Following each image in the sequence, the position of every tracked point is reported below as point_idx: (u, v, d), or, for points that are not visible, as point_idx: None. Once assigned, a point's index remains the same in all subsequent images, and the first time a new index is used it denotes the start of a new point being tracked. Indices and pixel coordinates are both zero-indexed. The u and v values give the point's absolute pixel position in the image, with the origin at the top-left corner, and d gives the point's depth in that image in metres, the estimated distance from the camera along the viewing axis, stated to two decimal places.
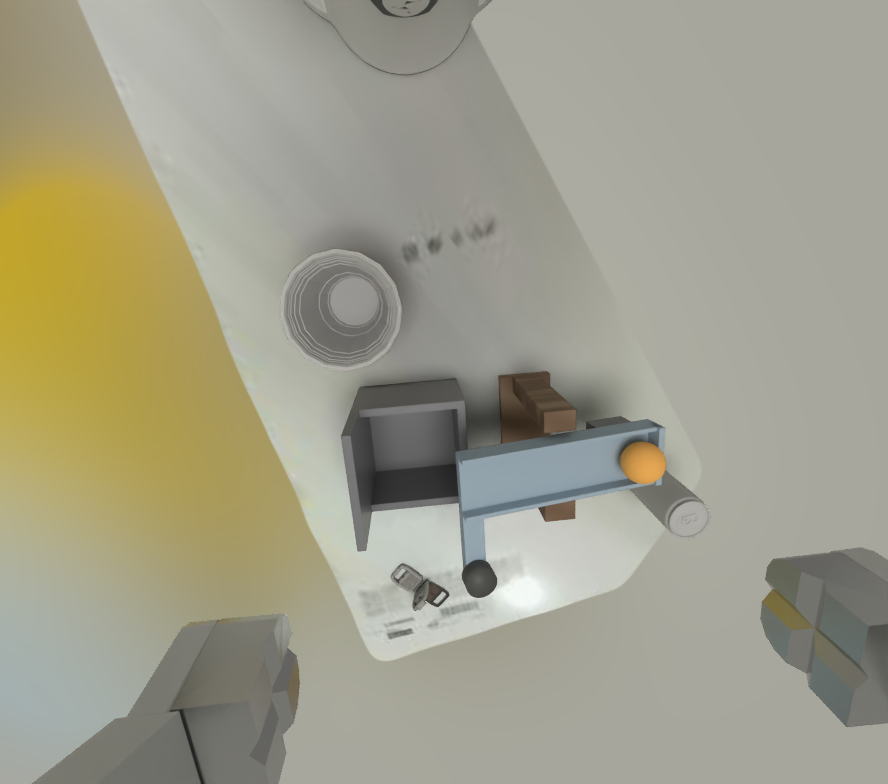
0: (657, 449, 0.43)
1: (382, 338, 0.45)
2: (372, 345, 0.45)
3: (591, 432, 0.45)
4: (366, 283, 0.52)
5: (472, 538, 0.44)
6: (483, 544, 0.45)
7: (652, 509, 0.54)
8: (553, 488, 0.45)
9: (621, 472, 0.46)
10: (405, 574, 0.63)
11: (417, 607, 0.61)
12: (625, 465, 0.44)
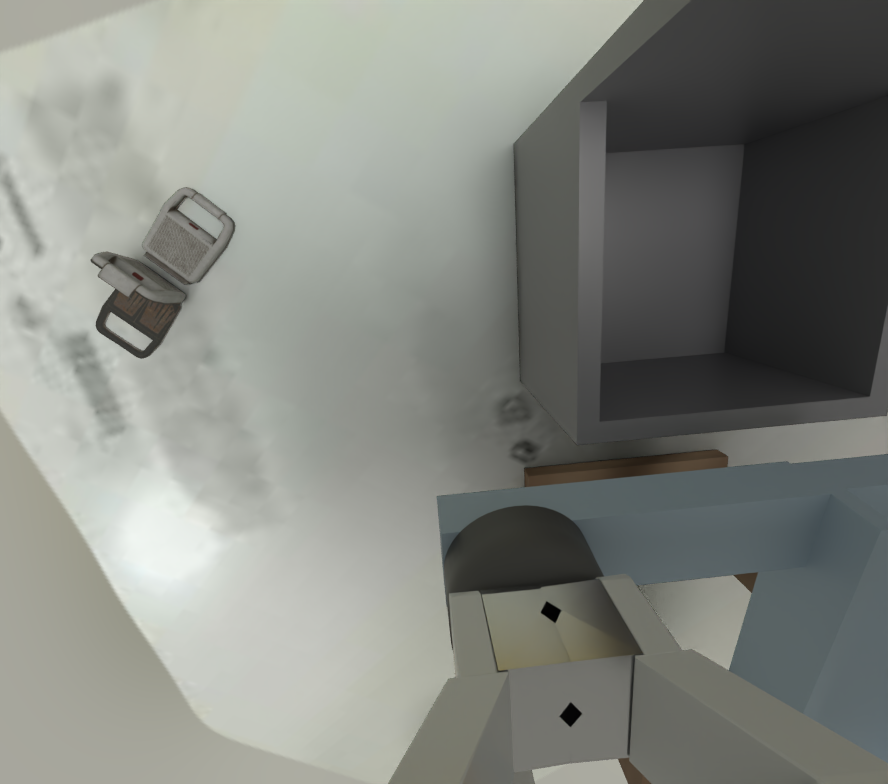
0: None
1: None
2: None
3: None
4: None
5: (700, 538, 0.10)
6: (653, 578, 0.10)
7: None
8: None
9: None
10: (202, 232, 0.22)
11: (106, 268, 0.19)
12: None
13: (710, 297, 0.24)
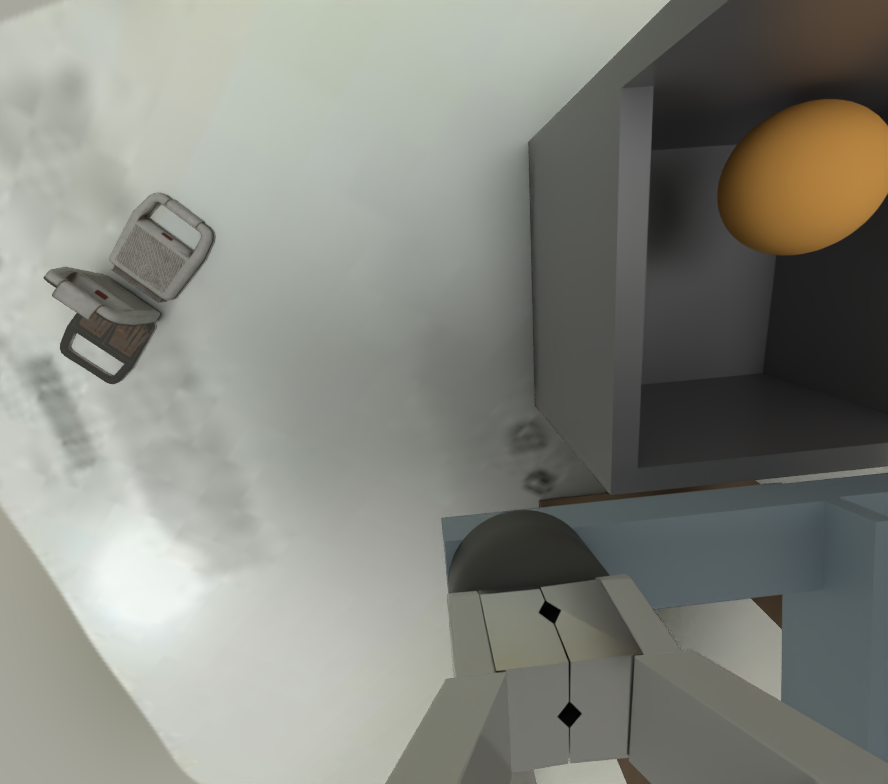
0: None
1: None
2: None
3: None
4: None
5: (704, 551, 0.10)
6: (664, 601, 0.10)
7: None
8: None
9: None
10: (177, 243, 0.19)
11: (62, 286, 0.16)
12: (842, 101, 0.12)
13: (748, 312, 0.21)
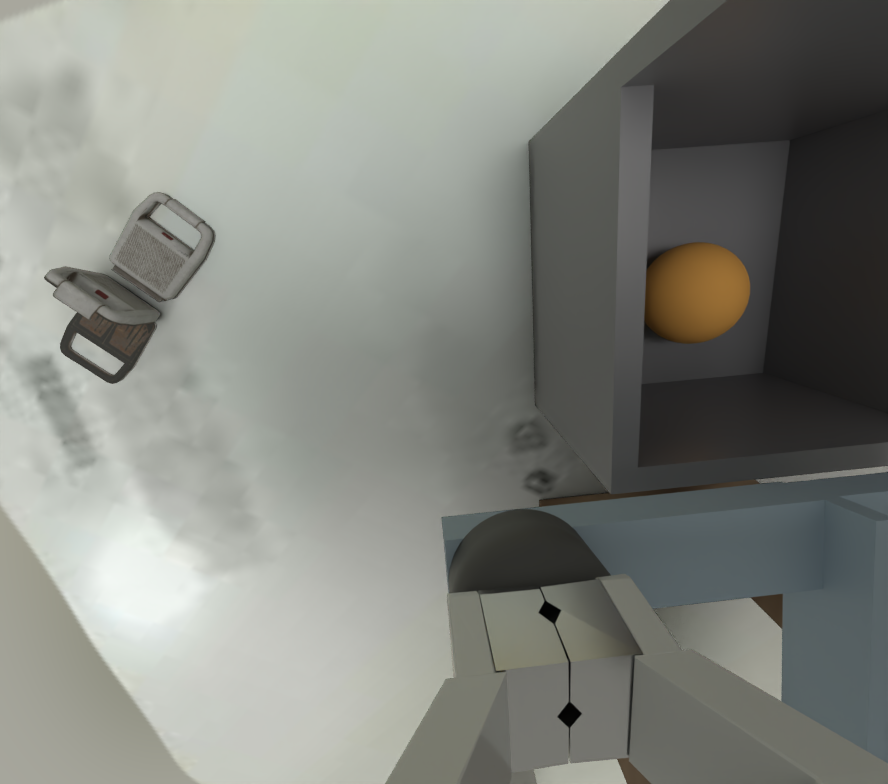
0: None
1: None
2: None
3: None
4: None
5: (704, 550, 0.10)
6: (664, 600, 0.10)
7: None
8: None
9: None
10: (177, 243, 0.19)
11: (62, 286, 0.16)
12: None
13: (748, 312, 0.21)
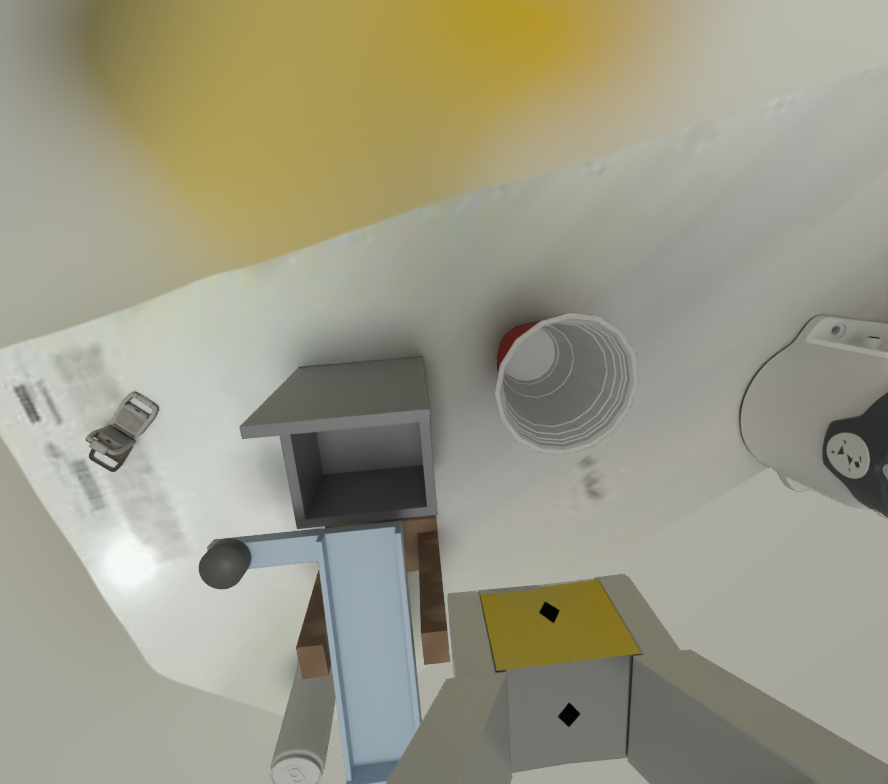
0: None
1: (521, 423, 0.37)
2: (511, 409, 0.37)
3: (417, 686, 0.36)
4: (547, 368, 0.45)
5: (284, 549, 0.34)
6: (273, 564, 0.34)
7: (295, 720, 0.45)
8: (346, 647, 0.35)
9: (360, 733, 0.36)
10: (141, 413, 0.43)
11: (93, 443, 0.40)
12: None
13: (411, 438, 0.46)
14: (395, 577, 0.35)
